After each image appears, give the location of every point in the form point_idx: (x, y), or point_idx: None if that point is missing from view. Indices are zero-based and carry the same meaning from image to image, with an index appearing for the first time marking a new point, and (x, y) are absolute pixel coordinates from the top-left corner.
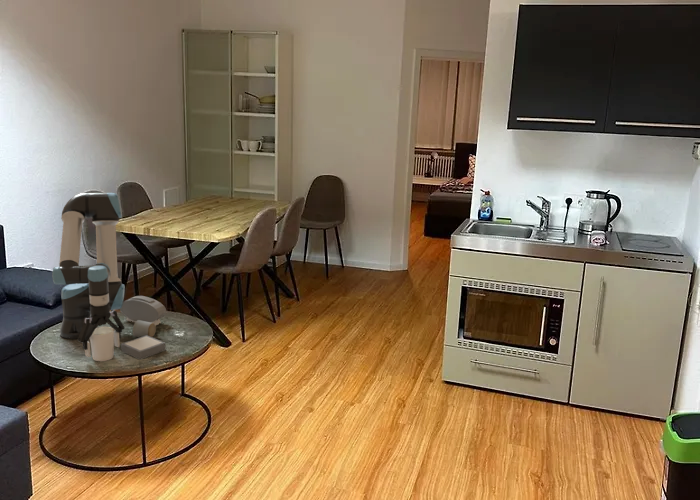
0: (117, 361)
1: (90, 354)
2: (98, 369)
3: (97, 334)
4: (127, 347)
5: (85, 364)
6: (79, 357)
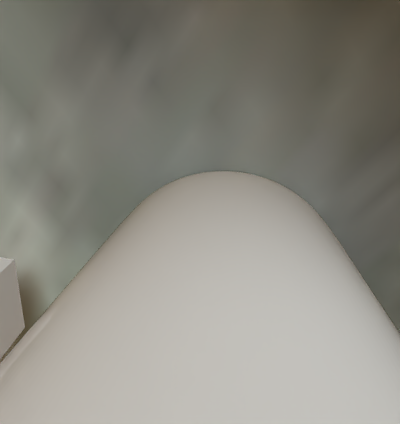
0: None
1: (6, 350)
2: None
3: (314, 414)
4: None
5: None
6: (42, 49)
